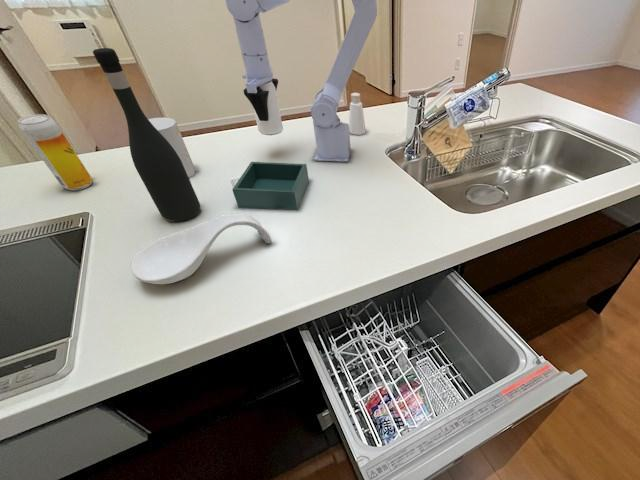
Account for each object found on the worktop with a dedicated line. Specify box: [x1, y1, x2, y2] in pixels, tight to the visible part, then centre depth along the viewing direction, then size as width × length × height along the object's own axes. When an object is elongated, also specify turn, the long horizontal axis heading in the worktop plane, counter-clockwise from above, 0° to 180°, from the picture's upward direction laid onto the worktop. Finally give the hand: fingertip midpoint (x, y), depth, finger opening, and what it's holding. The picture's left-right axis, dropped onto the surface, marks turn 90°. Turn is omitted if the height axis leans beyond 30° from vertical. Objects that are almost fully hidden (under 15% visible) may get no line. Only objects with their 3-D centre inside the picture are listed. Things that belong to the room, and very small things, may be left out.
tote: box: [232, 161, 310, 211], centre depth 82 cm, size 14×14×4 cm
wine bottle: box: [92, 47, 201, 222], centre depth 66 cm, size 8×8×30 cm
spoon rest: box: [130, 213, 272, 285], centre depth 64 cm, size 24×12×7 cm, turn 129°
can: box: [252, 80, 284, 136], centre depth 89 cm, size 6×6×12 cm
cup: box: [147, 116, 197, 179], centre depth 84 cm, size 8×8×12 cm
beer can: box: [17, 113, 93, 192], centre depth 77 cm, size 6×6×15 cm
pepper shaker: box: [348, 92, 367, 136], centre depth 107 cm, size 5×5×11 cm
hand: (268, 115), depth 91 cm, fingers closed on can, 6 cm apart
